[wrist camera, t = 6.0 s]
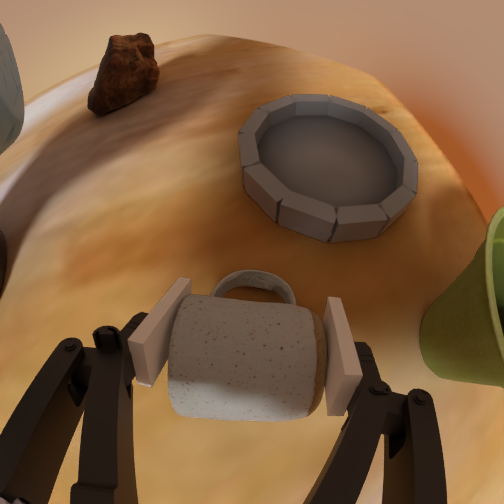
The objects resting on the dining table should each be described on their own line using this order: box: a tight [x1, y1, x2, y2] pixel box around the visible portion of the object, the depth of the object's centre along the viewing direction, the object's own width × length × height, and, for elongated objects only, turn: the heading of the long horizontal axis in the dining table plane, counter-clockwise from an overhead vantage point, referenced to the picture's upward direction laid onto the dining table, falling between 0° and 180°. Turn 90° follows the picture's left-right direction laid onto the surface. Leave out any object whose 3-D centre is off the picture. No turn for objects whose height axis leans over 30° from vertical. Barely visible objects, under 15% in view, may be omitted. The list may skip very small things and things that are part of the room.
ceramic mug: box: [168, 269, 327, 422], centre depth 16 cm, size 10×8×7 cm
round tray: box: [238, 94, 418, 243], centre depth 25 cm, size 17×17×3 cm
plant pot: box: [420, 206, 504, 388], centre depth 13 cm, size 12×12×11 cm
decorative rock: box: [87, 33, 160, 117], centre depth 29 cm, size 12×6×11 cm, turn 124°
